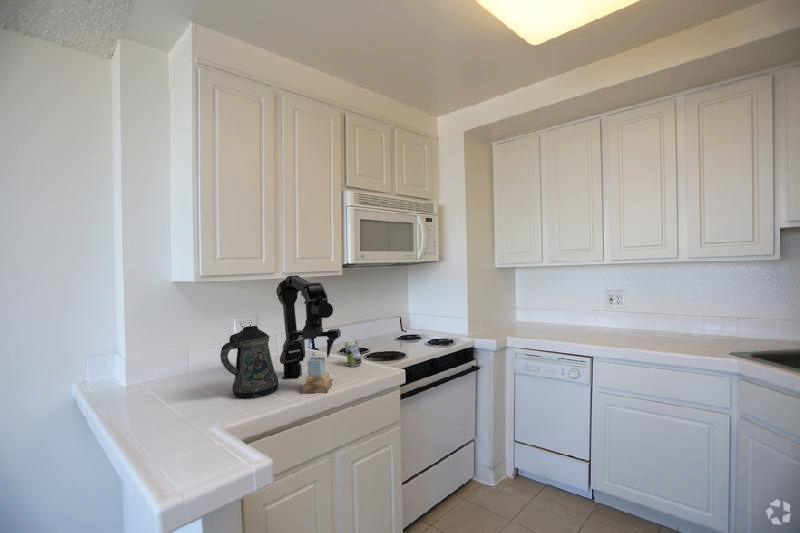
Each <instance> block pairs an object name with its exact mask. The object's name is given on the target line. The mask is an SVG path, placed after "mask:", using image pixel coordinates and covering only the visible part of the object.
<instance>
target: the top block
mask: <svg viewBox="0 0 800 533" xmlns="http://www.w3.org/2000/svg"><path fill="white" fill-rule="evenodd" d="M330 379H331V378H330V372H325V374H324V375H323V376H321V377H308V376H306V378H305V384H306V387H308V386H325V385H326V384H327V383H328V381H329V380H330Z"/></svg>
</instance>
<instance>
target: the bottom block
mask: <svg viewBox="0 0 800 533" xmlns="http://www.w3.org/2000/svg"><path fill="white" fill-rule="evenodd" d="M329 379H330V380H329V381H328V383H327V384H326V385H325V386H308V387H306V383H305V384H304V385H303V386H302V389H301V390H302V395H314V394H315V395H317V394H316V393H324V394H328V392H329V391H330V390H331V388H332V387H333V386H332V385H333V379H332V378H329ZM329 389H330V390H329ZM328 390H329V391H328Z"/></svg>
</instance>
